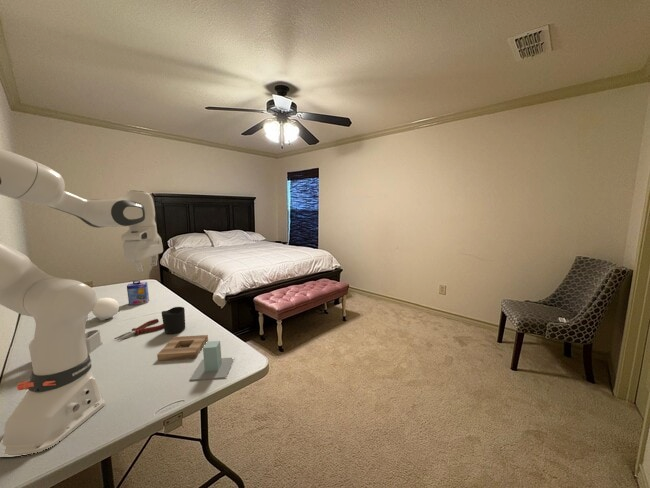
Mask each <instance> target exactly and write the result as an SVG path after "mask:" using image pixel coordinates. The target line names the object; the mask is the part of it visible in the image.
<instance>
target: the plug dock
mask: <svg viewBox="0 0 650 488" xmlns="http://www.w3.org/2000/svg"><path fill="white" fill-rule="evenodd" d="M208 341H209V335H208V334H202V335H200V334H199V335H185V336H181V335H180V336H173V338H172V339H170V340H169V342H168V343H166V345H164V347H163V348H162V349H161V350H160V351H159V352H158V353H157V354H156V356H157V361H159V362H160V361H172V360H173V361H174V360H187V359H186V358H190V359H196V358H197V357H198V356H199V355H198V354H200V353H201V352H202V351H203V349H202V348H203V347H204V345H205V344H206V342H208ZM180 346H181V347H180ZM200 351H201V352H200Z"/></svg>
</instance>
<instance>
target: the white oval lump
mask: <svg viewBox="0 0 650 488" xmlns="http://www.w3.org/2000/svg"><path fill="white" fill-rule="evenodd" d="M119 309H120V305H119V302H118V301H117V300H116V299H114V298H111V297H101V298H99V299H97V301H96V304H95V307H94V308H93V310H92V311H91V313H92V314H93V315H94V316H95V317H96V318H97V319H99V321H105V320H108V319H111V318H114V316H116V314H118V312H119Z"/></svg>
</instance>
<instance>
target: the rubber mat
mask: <svg viewBox="0 0 650 488" xmlns="http://www.w3.org/2000/svg"><path fill="white" fill-rule="evenodd" d="M221 360H222V364H221V366H220V368H219V370H218V371H213V372H205V367H204V358H203V359H201V361H200V363H199V364H198V366H197V367H196V369H195V370H194V372H193V373H192V375H191V377H190V378H189V381H190V382H192V381H202V380H203V381H205V380H216V379H217V380H219V379H218V378H220V379H226V378H225V377H227V378H228V376H227V375H229V373H230V371H229V370H231V369H232V366H233V364H232V363H234V361H233V359H232V357H221ZM231 365H232V366H231ZM228 372H229V373H228Z"/></svg>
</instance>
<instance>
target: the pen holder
mask: <svg viewBox="0 0 650 488" xmlns="http://www.w3.org/2000/svg"><path fill="white" fill-rule="evenodd" d="M161 317H162V318H161V319H162V324H163V326H164V329H163V331H164V333H165V334H167V335H177V334H179V333H182V332H183V331H185V329H186V313H185V307H184V306H173V307H172V308H169V309H168V310H162V311H161Z"/></svg>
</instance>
